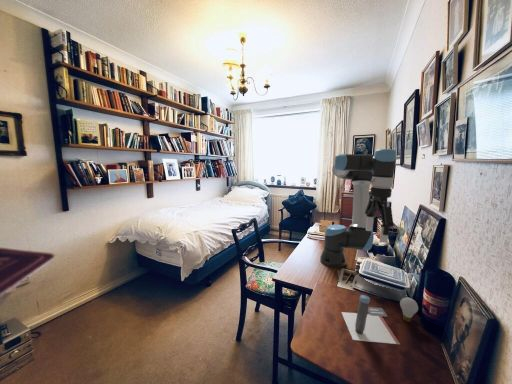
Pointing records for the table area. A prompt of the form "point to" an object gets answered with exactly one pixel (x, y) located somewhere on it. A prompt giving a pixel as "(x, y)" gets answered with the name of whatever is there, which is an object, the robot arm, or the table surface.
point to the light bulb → (408, 308)
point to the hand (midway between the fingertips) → (375, 236)
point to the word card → (377, 312)
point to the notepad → (370, 329)
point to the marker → (362, 314)
